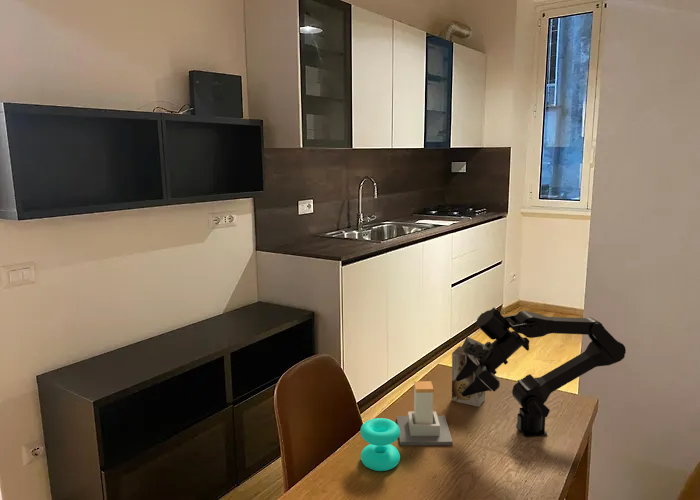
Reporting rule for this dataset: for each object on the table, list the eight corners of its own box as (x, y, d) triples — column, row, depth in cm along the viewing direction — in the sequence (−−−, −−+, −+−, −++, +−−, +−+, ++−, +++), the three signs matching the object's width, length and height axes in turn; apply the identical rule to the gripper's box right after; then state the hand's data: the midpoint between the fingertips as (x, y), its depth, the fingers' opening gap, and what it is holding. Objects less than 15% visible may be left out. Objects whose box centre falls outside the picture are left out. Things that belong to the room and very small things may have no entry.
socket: (444, 418, 159) (444, 406, 159) (452, 445, 146) (452, 431, 145) (396, 419, 160) (396, 406, 159) (400, 445, 146) (400, 431, 145)
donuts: (352, 427, 136) (376, 412, 144) (352, 463, 138) (376, 446, 146) (384, 440, 130) (407, 424, 138) (384, 478, 132) (407, 459, 140)
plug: (430, 423, 155) (431, 381, 152) (433, 432, 150) (433, 389, 148) (413, 424, 155) (413, 381, 152) (415, 433, 150) (415, 389, 148)
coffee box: (485, 399, 171) (487, 350, 168) (478, 407, 166) (480, 357, 163) (458, 392, 176) (459, 345, 173) (450, 400, 171) (451, 352, 167)
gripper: (474, 318, 155) (434, 354, 157) (488, 341, 137) (443, 383, 139) (500, 344, 156) (461, 380, 159) (518, 371, 138) (473, 411, 140)
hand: (459, 387), depth 149 cm, fingers open, 9 cm apart
